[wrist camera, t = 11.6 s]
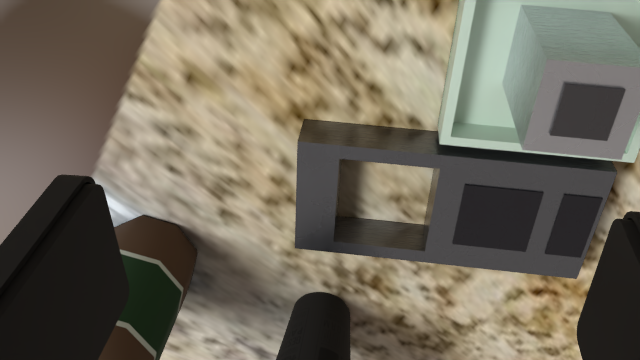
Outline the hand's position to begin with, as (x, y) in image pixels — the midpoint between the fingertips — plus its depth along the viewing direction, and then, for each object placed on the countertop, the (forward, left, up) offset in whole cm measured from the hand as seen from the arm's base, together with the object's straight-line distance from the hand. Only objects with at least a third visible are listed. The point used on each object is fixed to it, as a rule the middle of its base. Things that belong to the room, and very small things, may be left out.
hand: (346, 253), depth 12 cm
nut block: (+6, +11, -27) cm, 30 cm away
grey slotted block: (+17, +6, -28) cm, 33 cm away
